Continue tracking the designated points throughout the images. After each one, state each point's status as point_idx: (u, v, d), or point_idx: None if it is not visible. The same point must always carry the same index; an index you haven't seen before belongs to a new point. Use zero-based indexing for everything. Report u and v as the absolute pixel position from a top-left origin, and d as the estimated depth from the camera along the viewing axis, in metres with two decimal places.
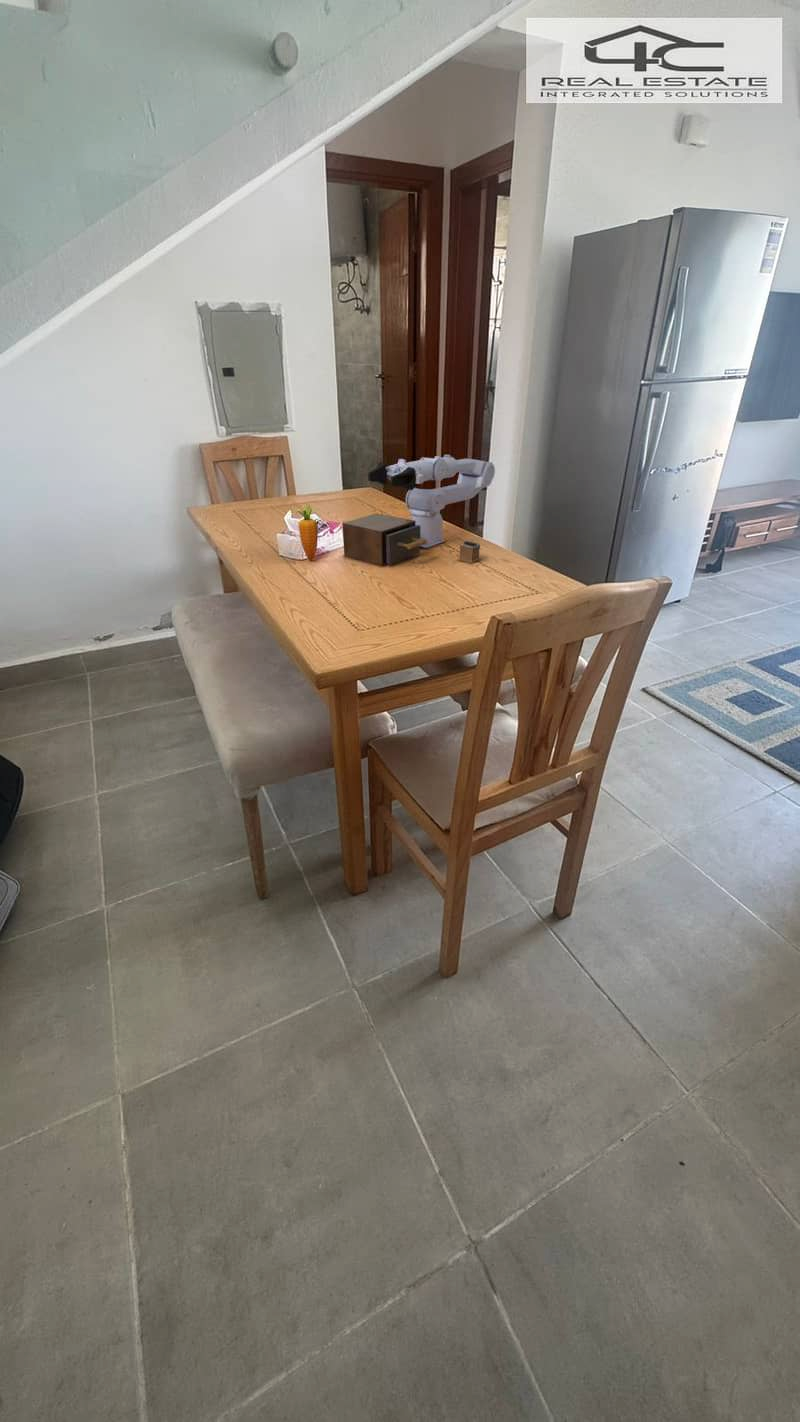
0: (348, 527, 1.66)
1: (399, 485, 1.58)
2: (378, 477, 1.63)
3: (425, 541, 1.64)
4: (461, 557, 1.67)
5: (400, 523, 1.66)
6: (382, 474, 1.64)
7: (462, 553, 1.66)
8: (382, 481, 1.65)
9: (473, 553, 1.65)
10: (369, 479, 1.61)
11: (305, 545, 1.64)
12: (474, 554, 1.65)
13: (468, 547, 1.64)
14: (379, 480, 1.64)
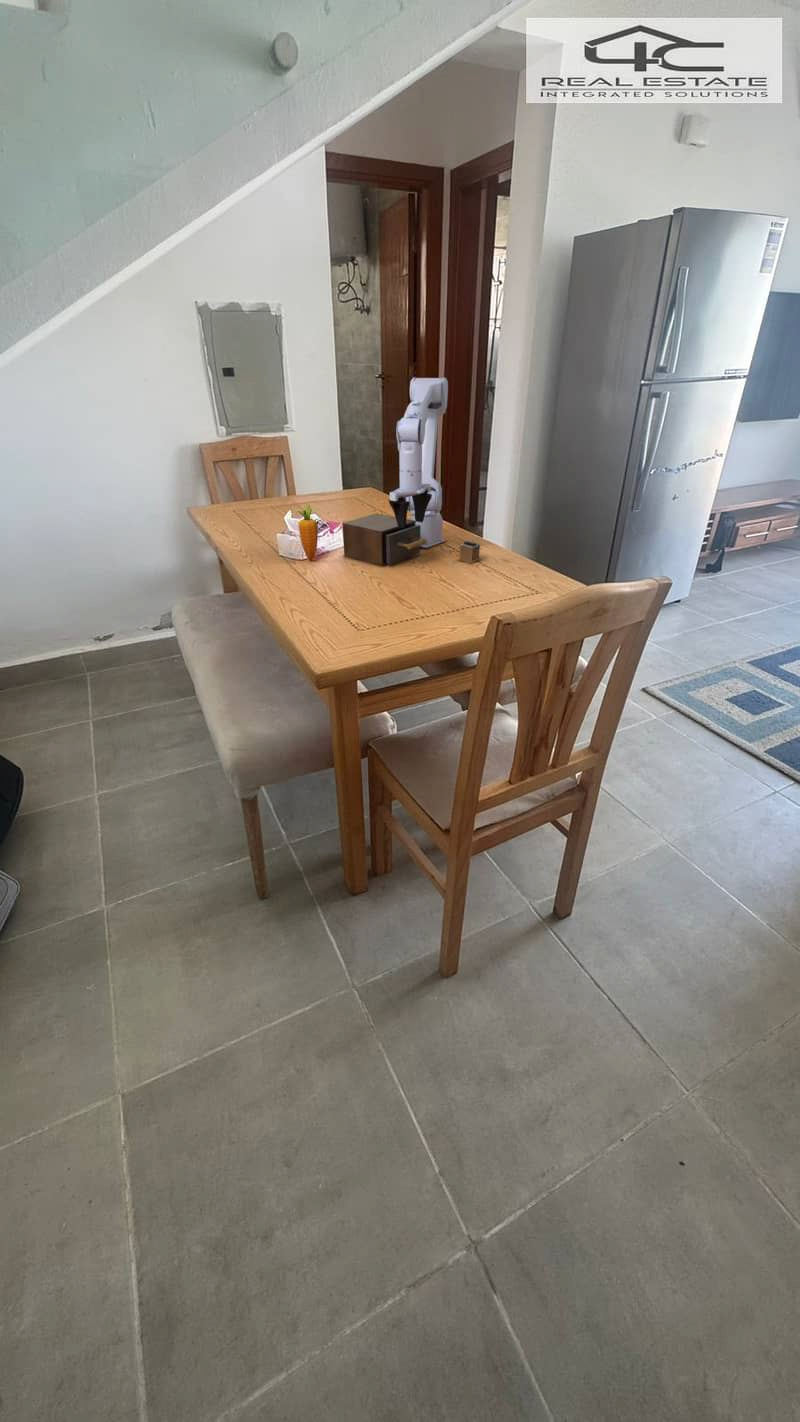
0: (348, 527, 1.66)
1: None
2: None
3: (425, 541, 1.64)
4: (461, 557, 1.67)
5: None
6: None
7: (462, 553, 1.66)
8: None
9: (473, 553, 1.65)
10: None
11: (305, 545, 1.64)
12: (474, 554, 1.65)
13: (468, 547, 1.64)
14: None
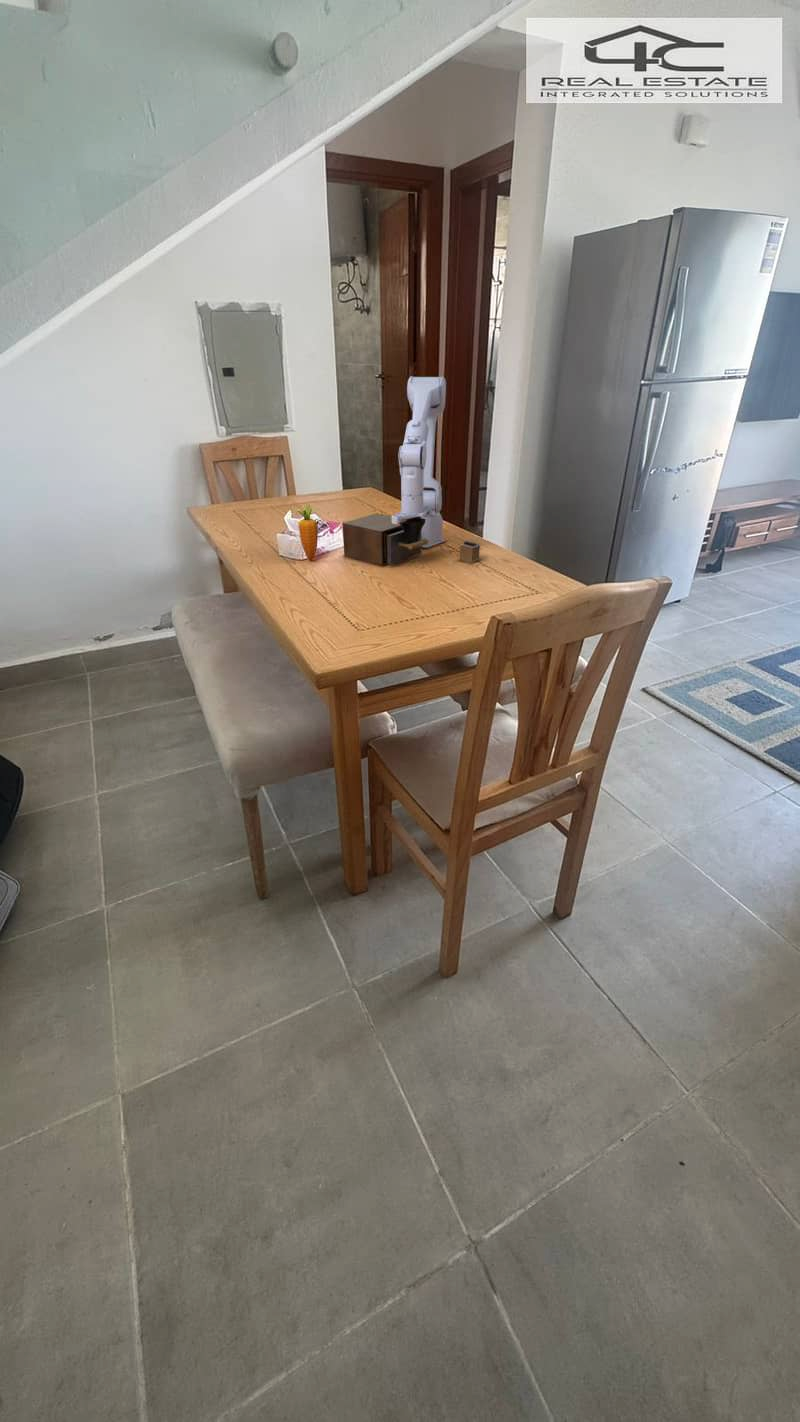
0: (348, 527, 1.66)
1: None
2: None
3: (426, 541, 1.63)
4: (461, 557, 1.67)
5: None
6: None
7: (462, 553, 1.66)
8: None
9: (473, 553, 1.65)
10: None
11: (305, 545, 1.64)
12: (474, 554, 1.65)
13: (468, 547, 1.64)
14: None
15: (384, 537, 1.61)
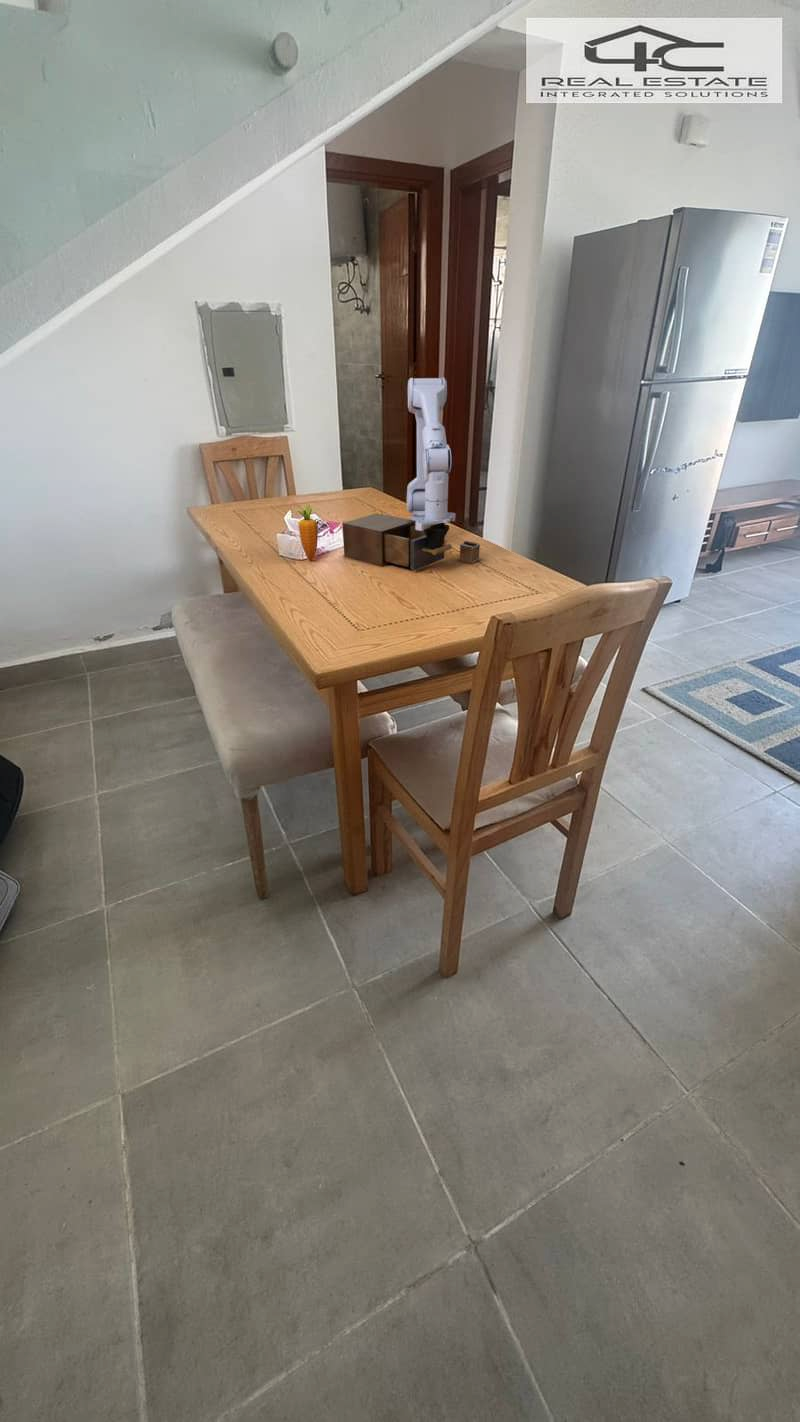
0: (348, 527, 1.66)
1: None
2: None
3: (450, 547, 1.59)
4: (461, 557, 1.67)
5: (400, 523, 1.66)
6: None
7: (462, 553, 1.66)
8: None
9: (473, 553, 1.65)
10: None
11: (305, 545, 1.64)
12: (474, 554, 1.65)
13: (468, 547, 1.64)
14: None
15: (407, 542, 1.56)
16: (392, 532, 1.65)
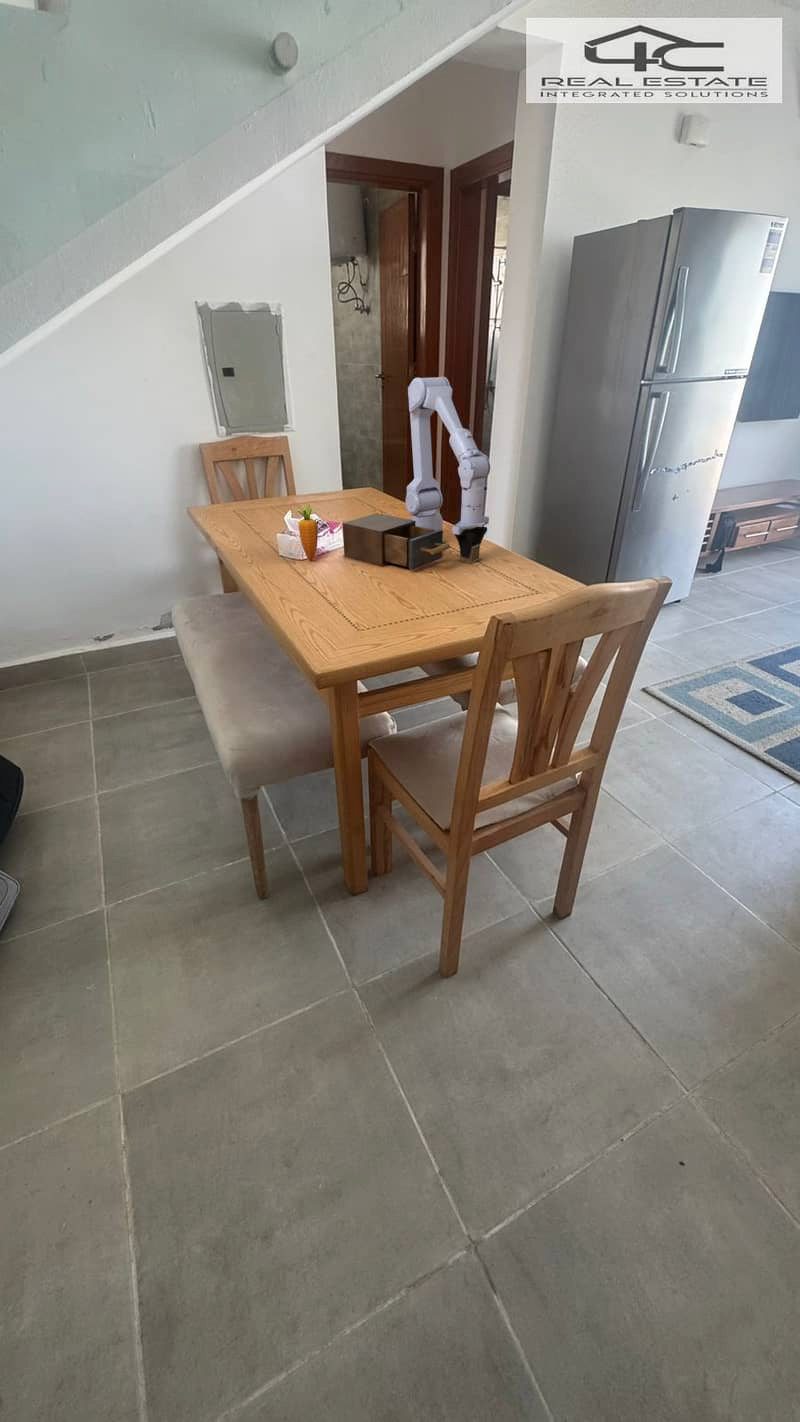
0: (348, 527, 1.66)
1: None
2: None
3: (448, 546, 1.59)
4: (461, 557, 1.67)
5: (400, 523, 1.66)
6: None
7: None
8: None
9: (473, 553, 1.65)
10: None
11: (305, 545, 1.64)
12: (474, 554, 1.65)
13: None
14: None
15: (405, 542, 1.57)
16: (390, 532, 1.66)
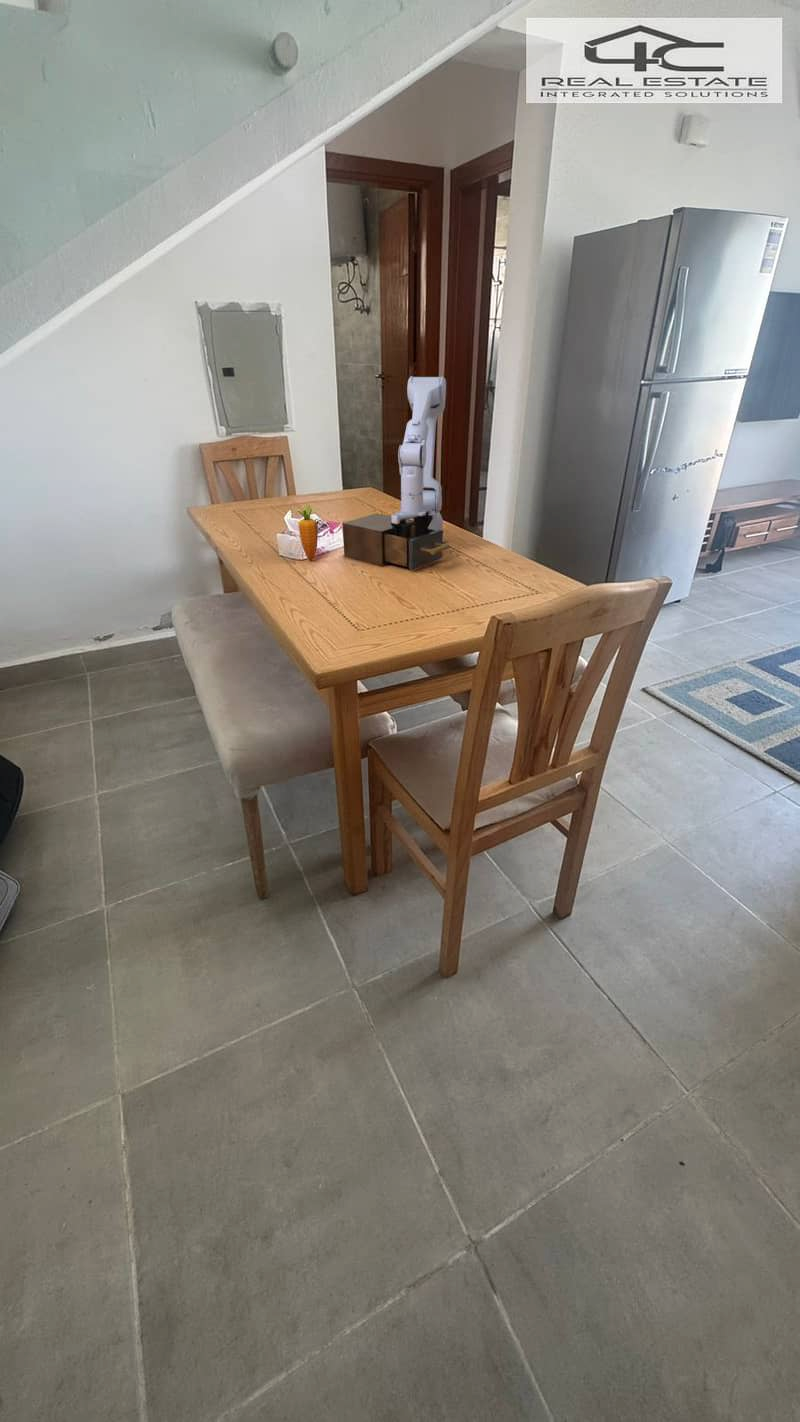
0: (348, 527, 1.66)
1: None
2: None
3: (448, 546, 1.59)
4: None
5: None
6: None
7: None
8: None
9: None
10: None
11: (305, 545, 1.64)
12: None
13: None
14: None
15: (405, 542, 1.57)
16: (390, 532, 1.66)
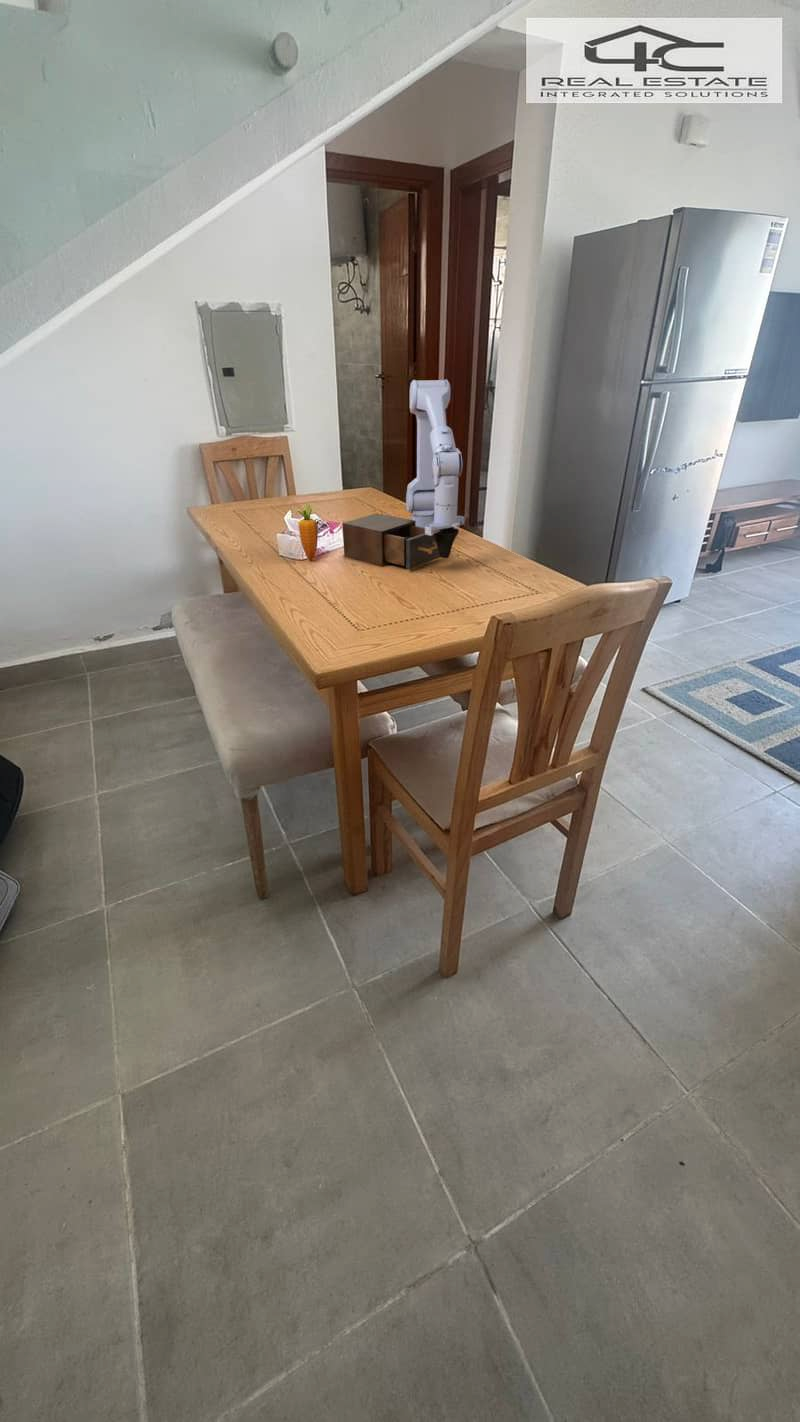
0: (348, 527, 1.66)
1: None
2: None
3: None
4: None
5: (400, 523, 1.66)
6: None
7: None
8: None
9: None
10: None
11: (305, 545, 1.64)
12: None
13: None
14: None
15: (403, 541, 1.57)
16: None
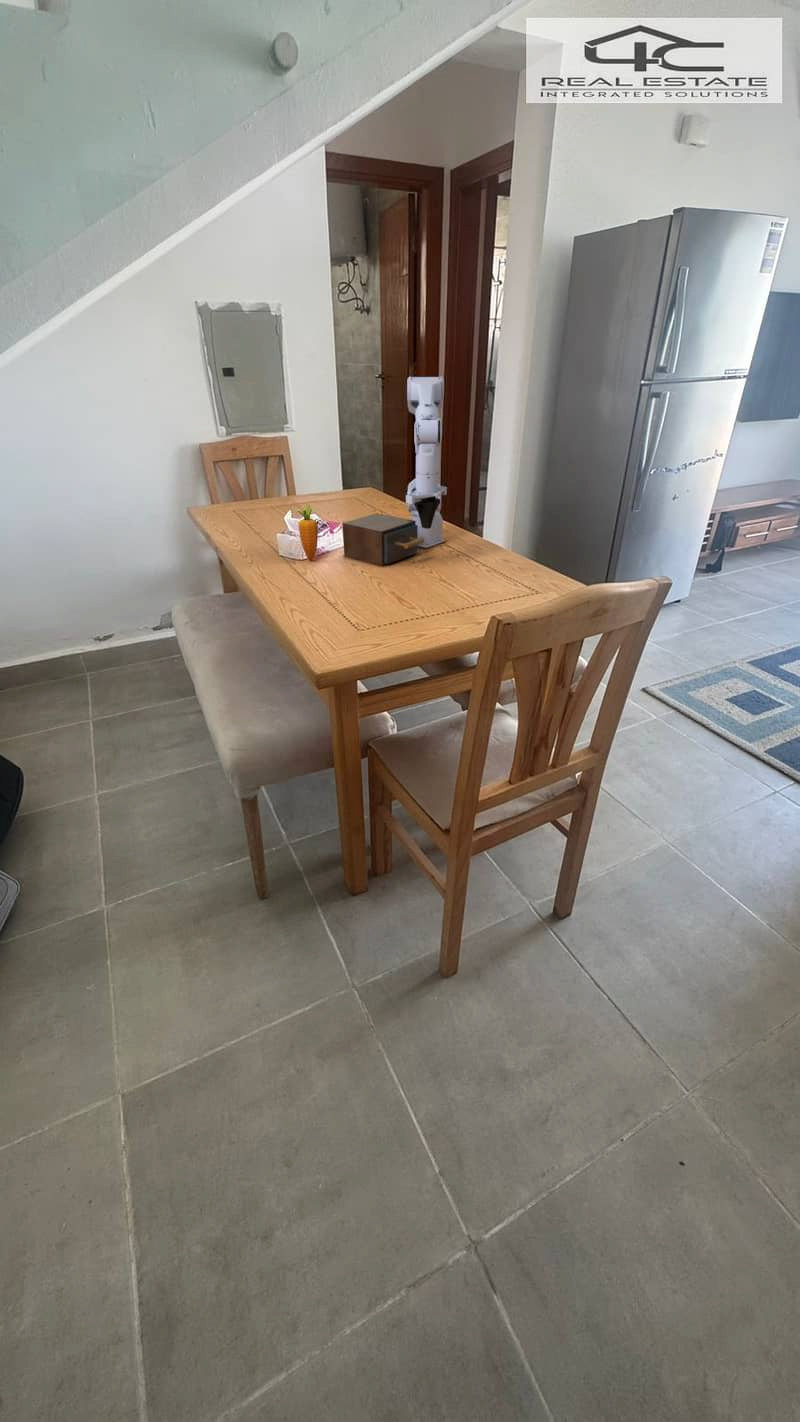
0: (348, 527, 1.66)
1: None
2: None
3: (422, 540, 1.64)
4: None
5: (400, 523, 1.66)
6: None
7: None
8: None
9: None
10: None
11: (305, 545, 1.64)
12: None
13: None
14: None
15: None
16: None
